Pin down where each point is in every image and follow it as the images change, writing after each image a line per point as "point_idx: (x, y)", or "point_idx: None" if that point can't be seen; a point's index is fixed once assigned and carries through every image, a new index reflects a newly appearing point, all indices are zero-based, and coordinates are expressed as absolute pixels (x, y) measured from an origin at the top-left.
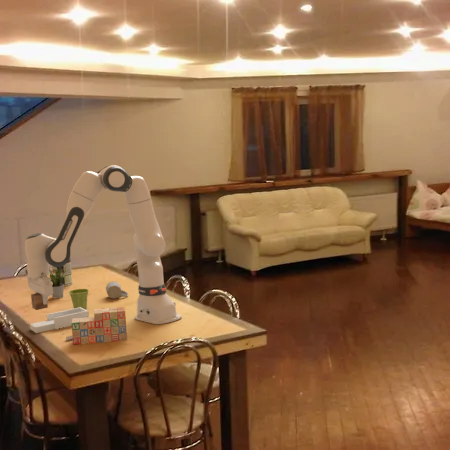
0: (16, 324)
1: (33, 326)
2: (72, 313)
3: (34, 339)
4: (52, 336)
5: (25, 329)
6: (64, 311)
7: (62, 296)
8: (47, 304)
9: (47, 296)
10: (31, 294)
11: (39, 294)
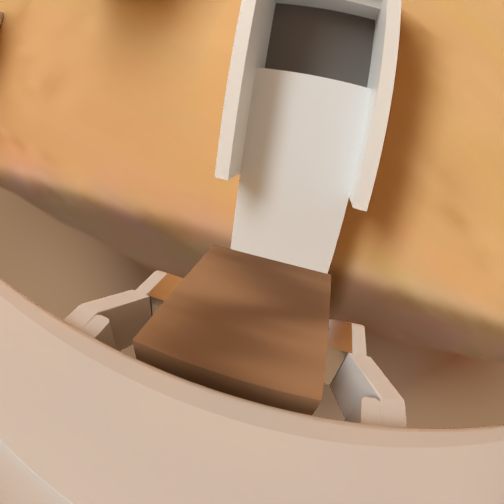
0: (117, 250)
1: None
2: (264, 4)
3: (389, 335)
4: (436, 272)
5: None
6: (249, 46)
7: (2, 13)
8: (329, 293)
9: (399, 404)
10: None
11: None
